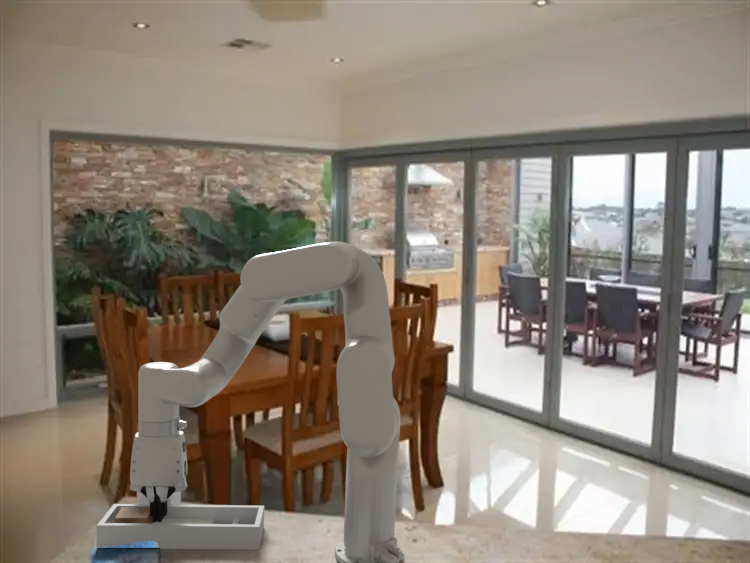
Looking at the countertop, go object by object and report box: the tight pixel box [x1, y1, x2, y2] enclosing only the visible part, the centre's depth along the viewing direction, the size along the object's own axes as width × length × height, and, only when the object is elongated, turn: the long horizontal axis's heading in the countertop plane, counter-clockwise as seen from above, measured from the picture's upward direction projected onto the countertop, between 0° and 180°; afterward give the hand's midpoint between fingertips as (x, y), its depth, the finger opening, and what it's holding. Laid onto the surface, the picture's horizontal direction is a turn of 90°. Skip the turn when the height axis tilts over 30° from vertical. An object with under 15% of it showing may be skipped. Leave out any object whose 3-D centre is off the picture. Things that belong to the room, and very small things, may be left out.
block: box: [115, 507, 153, 524], centre depth 133 cm, size 6×5×3 cm
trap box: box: [96, 503, 265, 551], centre depth 134 cm, size 30×10×4 cm, turn 94°
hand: (158, 519), depth 134 cm, fingers closed
